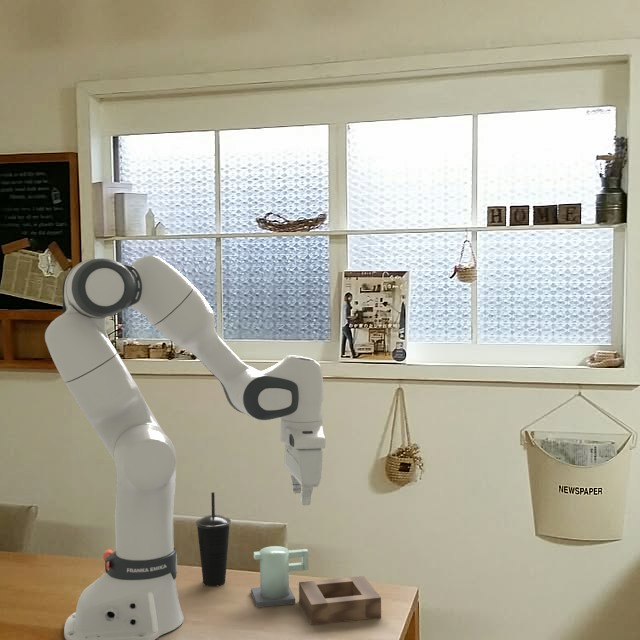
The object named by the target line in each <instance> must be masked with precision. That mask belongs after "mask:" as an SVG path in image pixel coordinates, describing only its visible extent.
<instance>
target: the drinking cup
mask: <svg viewBox="0 0 640 640" xmlns="http://www.w3.org/2000/svg"><path fill="white" fill-rule="evenodd" d="M210 495H211V497H210V498H211V499H210V500H211V514H210V515H209V514H208V515H206V516H203V517H201V518H199V519H197V520H196V521H195V526H196V527H197V538H198V545H199V557H200V564H201V565H200V566H201V574H202V575H201V576H202V584H203V583H204V584H205V585H204V584H203V585H204V586H206V585H208V586H207V587H218V586H217V585H219V586H222V585H224V584H225V583H226V579H227V578H226V577H227V576H226V575H227V563H228V553H229V552H228V549H229V538H230V525H231V524H232V520H231V519H230V518H228V517H226V516H223V515H220V514H216V512H215V511H216V508H215V503H216V502H215V497H216V496H215V492H211V493H210ZM221 584H222V585H221Z"/></svg>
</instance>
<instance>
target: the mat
mask: <svg viewBox="0 0 640 640" xmlns="http://www.w3.org/2000/svg"><path fill="white" fill-rule="evenodd" d="M250 593H251V596H252V599H253V600H254V601H253V602H254V603H255V606H256V608H264V607H266V608H267V607H274V606H285V605H292V604H296V597H295V595H294V593H293V591H292V589H291V588H290V586H289V595H287V596H286V597H283V598H278V599H269V598H265V597H263V596H261V594H260V587H251V588H250Z"/></svg>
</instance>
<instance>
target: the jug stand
mask: <svg viewBox="0 0 640 640" xmlns="http://www.w3.org/2000/svg"><path fill="white" fill-rule="evenodd" d="M298 592H299V593H298V601H299V603H300V606H301V607H302V609H303V612H304V613H305V616H306V617H307V619H308V621H309V623H310V624H311V626H312V625H313V626H314V625H320V624H321V625H323V624H331V623H332V624H333V623H343V622H351V621H360V620H369V619H377V618H378V619H380V618H382V597H381V595H380V594H379V593H378V592H377V591H376V589H375V588H374V587H373V586H372V584H371V583H370V581H369V580H368V579H367V578H366V576H365V575H362V576H361V575H360V576H350V577H340V578H330V579H328V578H327V579H318V580H309V581H306V580H305V581H298Z"/></svg>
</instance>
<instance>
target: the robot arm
mask: <svg viewBox="0 0 640 640" xmlns="http://www.w3.org/2000/svg"><path fill="white" fill-rule="evenodd" d="M128 308H133V309H135V310H136V311H137V312H138V313H140V314H142V315H143V316H144V317H145V318H146V320H148V322H149V323H150V324H151V325H152V326H153V327H154V328H155V329H156V330H157V331H158V332H160V334H162V335H163V336H164V337H165V338H167V339H168V340H170V341H171V342H172V343H173V344H175V345H177V346H178V347H179V348H182V349H183V350H186V351H188V352H190V354H192V355H194V356H195V357H196V358H197V359H198V360H199V362H201V364H203V365H204V367H206V369H208V371H210V373H211V374H212V375H213V376H214V377H215V378H216V379H217V380H218V381H219V383H220V384H221V386H222V389H223V392H224V394H225V398H226V399H227V402H228V404H229V405H230V406H231V407H232V408H233V409H234V410H235V411H237V412H239V413H242V414H244V415H247V416H248V417H251V418H252V419H255V420H257V421H269V420H274V419H278V418H280V441H281V442H282V443H284V467H286V469H287V471H289V474H290V480H291V492H293V493H294V494H295V495H296V494H300V503H301V504H302V506H309V505H311V501H312V499H311V498H312V493H313V489H314V488H317V487H319V486H320V484H321V479H322V468H323V455H324V454H323V449H325V448H326V438H325V437H326V436H325V434H324V416H323V412H322V404H323V402H324V376H323V370H322V367H321V364H320V363H319V361H317V360H316V359H314V358H312V357H307V356H301V355H297V354H289V355H285V357H284V358H283V359H282V360H280V361H279V362H277V363H276V364H274V365H272V366H271V367H270V366H269V367H268V368H266V369H264V370H261V369H259V368H257V367H255V366H252V365H249V364H247V363H245V362H244V361H243V360H241V359H240V358H239V356H237V354H236V353H235V352H233V350H232V349H231V348H230V347H229V346H228V345H227V344H226V342H225V341H224V340H222V338H221V337H220V336H219V334H218V333H217V329H216V327H215V313H214V310H213V309H212V307H211V306H210V304H209V302H208V301H207V300H206V298H205V297H204V296H203V294H202V293H201V292H200V291H199V289H197V287H195V286H194V284H193V283H191V282H190V281H189V280H188V279H187V277H185V276H184V275H183V274H182V273H181V272H179V271H178V270H177V269H176V268H175V267H174V266H172V264H170V263H168V262H166V261H165V260H164V259H162V258H161V257H159V256H157V255H145V256H142V257H140V258H138V259H137V260H135V261H134V262H133V263H131V264H127V263H126V264H125V263H121V262H120V261H116V260H113V259H110V258H109V259H108V258H90V259H85V260H83V261H81V262H79V263H77V264H76V265H74V266H73V268H71V269H70V270H69V271H68V272H67V274H66V276H65V277H64V280H63V284H62V314H61V315H58V316H57V317H56V318H55V319H54V320H52V321H51V322H50V324H49V325H48V327H47V328H46V329H45V333H44V341H45V344H46V347H47V349H48V352H49V354H50V356H51V358H52V361H53V363H54V366H55V367H56V369H57V371H58V373H59V376H60V377H61V379H62V381H63V382H64V384H65V386H67V388H68V390H69V392H70V393H71V395H72V397H73V399H74V400H75V402H76V403H77V405H78V406H79V408H80V410H81V412H82V413H83V415H84V416H85V419H86V420H87V421H88V422H89V424H90V425H91V426H92V429H93V430H94V431H95V433H96V434H97V436H98V438H99V439H100V440H101V442H102V444H103V446H104V447H105V448H106V450H107V452H108V453H109V455H110V456H111V458H112V461H113V463H114V465H115V470H116V471H115V472H116V474H115V475H116V481H115V482H116V484H115V486H116V487H115V488H116V491H115V510H114V530H115V532H114V534H115V536H114V537H115V551H113V550H112V549H111V548H110V549H105V550H104V552H103V557H102V558H103V560H104V568H105V572H104V573H103V574H101V575H100V576H99V577H98V578H97V579H96V580H94V581H93V582H92V583H91V584H89V585H88V586H87V587H86V588H84V590H82V592H81V594H80V596H79V598H78V601H77V603H76V609H75V611H74V612H73V613H72V614H70V615H69V616H68V617H67V618H66V621H65V623H64V629H63V637H64V639H65V640H156V639H158V638H159V637H161V636H163V635H164V634H167V633H169V632H171V631H174V630H175V629H177V628H179V627H180V626H181V624H183V622H184V620H185V618H184V617H185V616H184V614H183V611H182V608H181V604H180V601H179V595H178V589H177V587H178V586H177V582H176V579H177V574H178V554H177V551H176V549H177V548H176V547H175V545H174V538H175V537H174V502H175V492H176V491H175V490H176V481H177V480H176V478H177V451H176V450H177V449H176V447H175V445H174V443H173V442H172V440H171V439H170V438H169V437H168V436H167V434H166V433H165V431H164V430H163V428H162V427H161V426H160V424H159V422H158V420H157V419H156V417H155V415H154V413H153V412H152V410H151V408H150V406H149V405H148V403H147V402H146V400H145V397H144V395H143V394H142V392H141V391H140V388H139V386H138V385H137V383H136V381H135V380H134V378H133V377H132V374H131V373H130V372H129V369H128V368H127V366H126V365H125V363H124V361H123V359H122V358H121V356H120V354H119V353H118V352H117V349H116V348H115V346H114V345H113V344H112V341H111V340H110V338H109V335H108V333H107V330H106V329H107V328H106V319H107V317H111V316H114V315H116V314H119V313H121V312H122V311H124V310H125V309H128Z"/></svg>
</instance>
